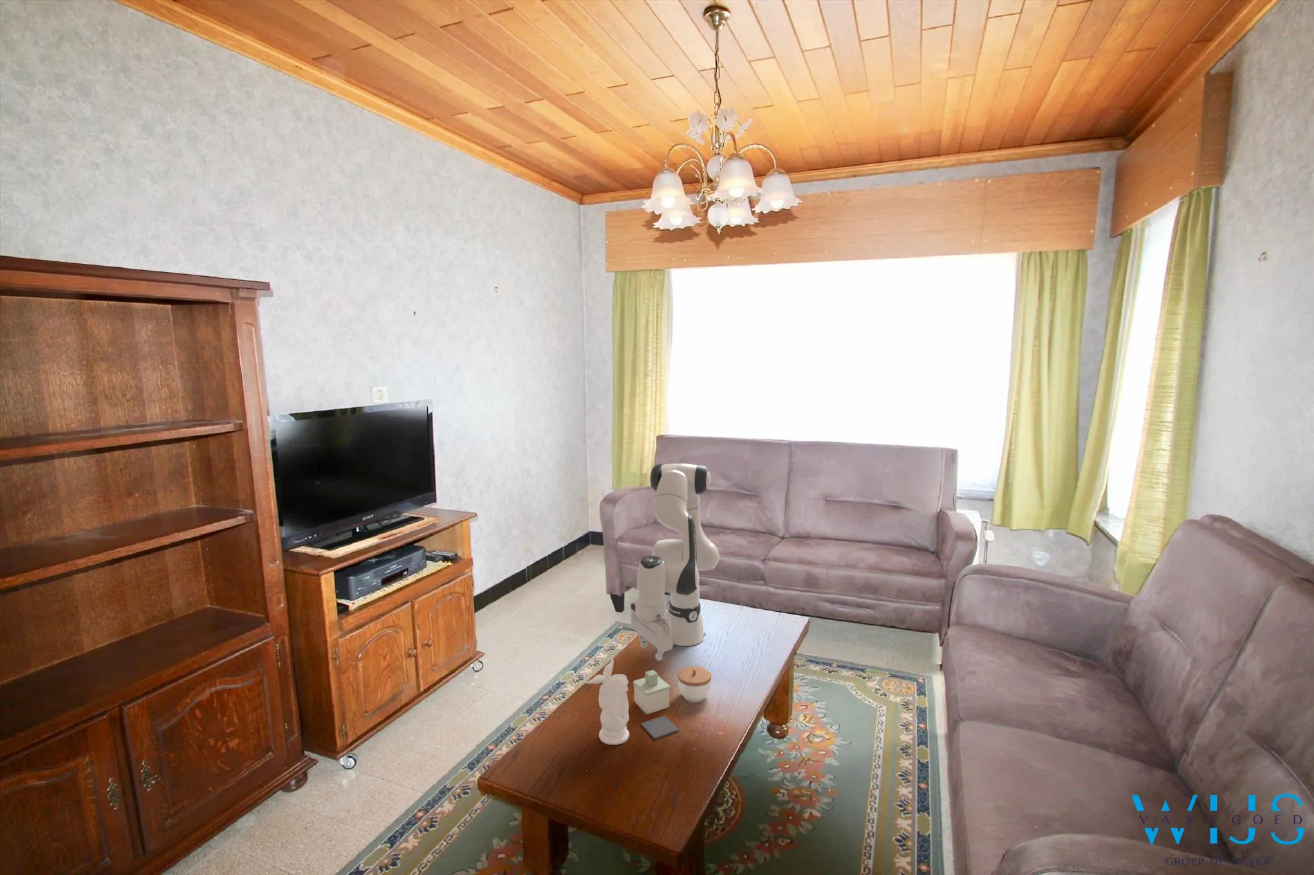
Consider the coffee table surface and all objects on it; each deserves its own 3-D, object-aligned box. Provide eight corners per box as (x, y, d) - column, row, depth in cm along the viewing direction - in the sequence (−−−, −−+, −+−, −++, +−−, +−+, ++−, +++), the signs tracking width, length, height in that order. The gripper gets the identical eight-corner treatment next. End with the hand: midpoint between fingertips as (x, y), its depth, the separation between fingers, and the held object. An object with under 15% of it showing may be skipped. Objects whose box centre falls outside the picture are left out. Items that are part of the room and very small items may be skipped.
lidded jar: (708, 708, 190) (709, 679, 188) (674, 704, 192) (674, 676, 191) (712, 690, 200) (713, 663, 199) (680, 686, 202) (680, 659, 201)
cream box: (634, 701, 193) (634, 684, 192) (656, 695, 197) (656, 677, 196) (646, 714, 186) (646, 696, 185) (669, 707, 190) (669, 689, 189)
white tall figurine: (631, 747, 171) (631, 673, 168) (586, 751, 169) (585, 677, 166) (626, 721, 183) (626, 652, 179) (584, 725, 181) (583, 655, 178)
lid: (633, 683, 192) (633, 670, 192) (656, 677, 197) (656, 663, 196) (646, 696, 185) (646, 682, 185) (669, 689, 189) (670, 675, 189)
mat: (641, 725, 181) (641, 723, 181) (664, 717, 185) (664, 715, 185) (654, 739, 174) (654, 737, 174) (678, 731, 178) (678, 729, 178)
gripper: (678, 620, 180) (677, 664, 182) (644, 597, 198) (644, 638, 199) (659, 624, 177) (659, 669, 179) (627, 601, 195) (627, 642, 196)
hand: (651, 653), depth 189 cm, fingers open, 8 cm apart
